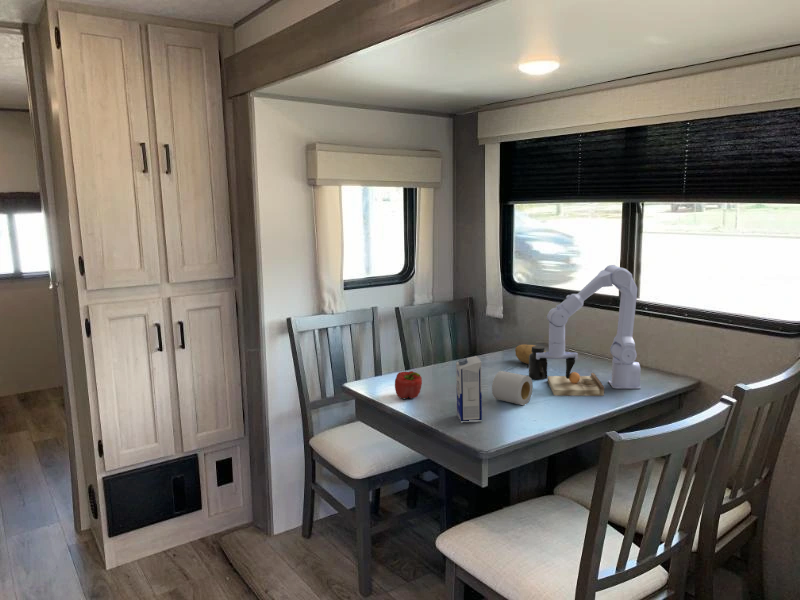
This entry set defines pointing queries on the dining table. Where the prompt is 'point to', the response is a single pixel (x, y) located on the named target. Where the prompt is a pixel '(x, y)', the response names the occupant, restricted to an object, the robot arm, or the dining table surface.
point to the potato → (524, 352)
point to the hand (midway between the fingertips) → (556, 377)
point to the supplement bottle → (536, 363)
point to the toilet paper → (512, 387)
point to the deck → (576, 386)
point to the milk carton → (469, 389)
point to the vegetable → (408, 384)
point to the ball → (574, 377)
